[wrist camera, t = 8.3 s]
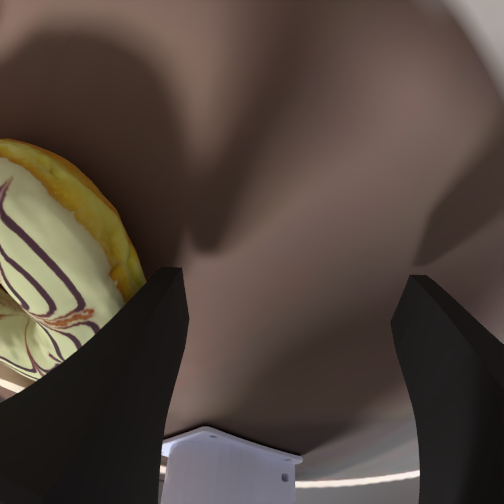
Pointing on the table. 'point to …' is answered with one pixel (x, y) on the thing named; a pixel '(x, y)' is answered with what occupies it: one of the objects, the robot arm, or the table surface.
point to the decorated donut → (56, 259)
